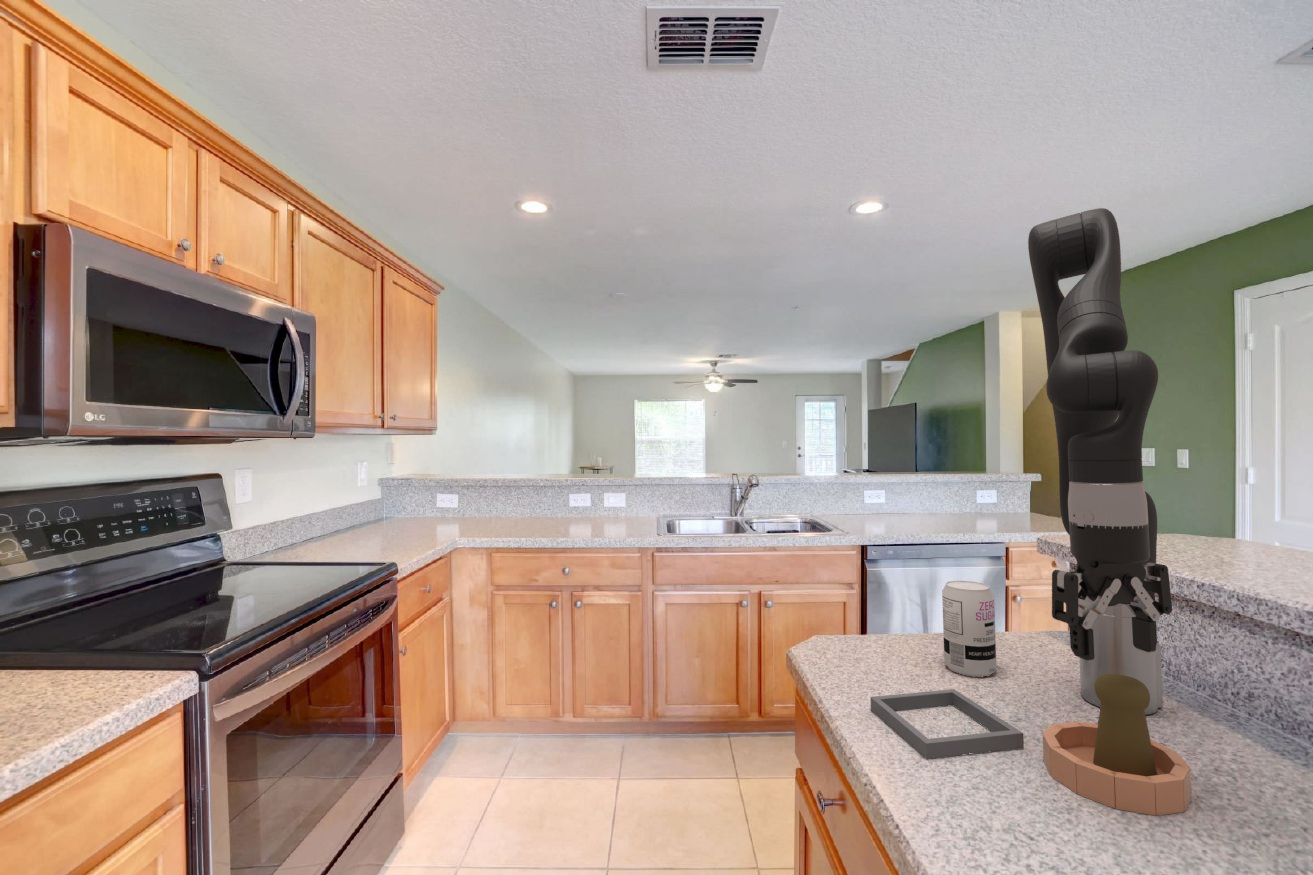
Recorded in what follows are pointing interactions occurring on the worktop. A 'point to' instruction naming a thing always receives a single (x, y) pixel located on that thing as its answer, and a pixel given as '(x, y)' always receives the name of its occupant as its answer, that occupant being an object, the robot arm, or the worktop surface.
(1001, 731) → the rectangular frame
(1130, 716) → the olive pestle
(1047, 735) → the bowl
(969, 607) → the supplement can
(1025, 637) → the worktop surface
